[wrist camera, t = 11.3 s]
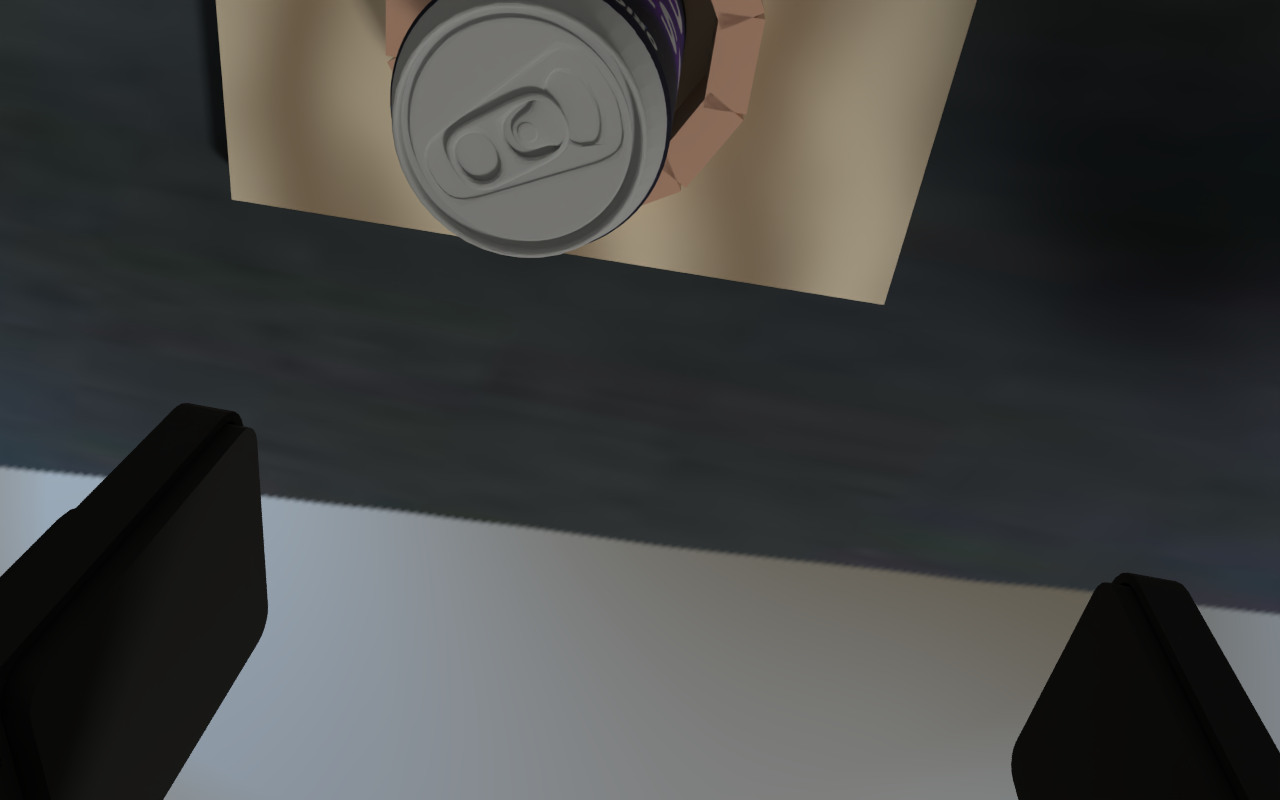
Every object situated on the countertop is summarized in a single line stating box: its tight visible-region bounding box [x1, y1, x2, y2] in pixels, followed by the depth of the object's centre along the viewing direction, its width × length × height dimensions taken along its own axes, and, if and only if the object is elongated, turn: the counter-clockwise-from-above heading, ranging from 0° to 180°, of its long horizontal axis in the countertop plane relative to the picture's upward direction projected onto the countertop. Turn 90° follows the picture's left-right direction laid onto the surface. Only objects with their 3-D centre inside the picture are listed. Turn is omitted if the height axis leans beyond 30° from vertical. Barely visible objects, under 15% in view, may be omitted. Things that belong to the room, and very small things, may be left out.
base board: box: [216, 0, 977, 305], centre depth 29 cm, size 22×15×2 cm
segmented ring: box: [386, 0, 765, 205], centre depth 27 cm, size 10×10×3 cm
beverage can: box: [390, 0, 686, 258], centre depth 24 cm, size 6×6×12 cm
